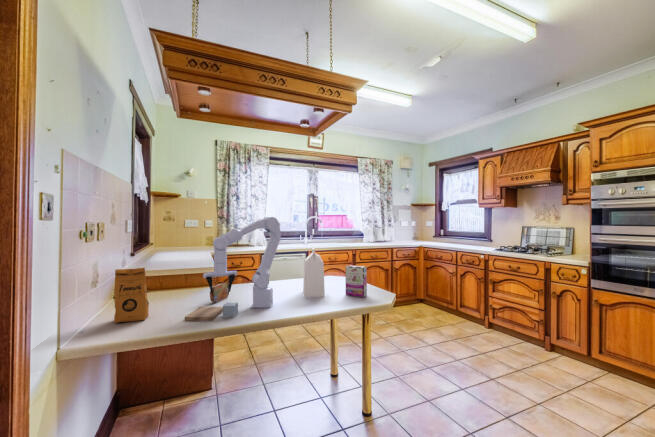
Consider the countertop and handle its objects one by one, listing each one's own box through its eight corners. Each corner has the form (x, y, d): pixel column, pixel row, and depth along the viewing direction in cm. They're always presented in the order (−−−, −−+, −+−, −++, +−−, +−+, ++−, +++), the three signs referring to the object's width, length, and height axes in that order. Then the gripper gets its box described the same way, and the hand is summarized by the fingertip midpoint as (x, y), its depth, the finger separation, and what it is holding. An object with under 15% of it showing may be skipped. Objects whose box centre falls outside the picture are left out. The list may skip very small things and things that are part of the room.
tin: (214, 304, 145) (214, 287, 145) (208, 304, 145) (208, 287, 145) (230, 296, 159) (230, 281, 159) (224, 296, 160) (224, 281, 160)
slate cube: (237, 313, 131) (237, 302, 131) (234, 317, 126) (234, 305, 126) (226, 313, 131) (226, 302, 131) (222, 317, 126) (222, 305, 126)
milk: (303, 291, 169) (303, 247, 169) (322, 291, 170) (322, 247, 170) (303, 297, 157) (303, 249, 157) (324, 296, 158) (324, 249, 158)
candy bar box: (367, 295, 160) (367, 266, 160) (363, 297, 156) (363, 267, 156) (349, 293, 165) (348, 264, 165) (345, 295, 161) (345, 265, 161)
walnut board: (225, 310, 135) (225, 306, 135) (212, 320, 121) (212, 317, 121) (199, 310, 135) (199, 306, 135) (184, 320, 121) (184, 317, 121)
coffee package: (146, 321, 120) (146, 269, 120) (110, 325, 116) (110, 271, 116) (151, 314, 129) (151, 265, 129) (118, 317, 125) (118, 267, 125)
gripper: (235, 260, 140) (235, 288, 140) (202, 262, 134) (203, 292, 134) (237, 262, 134) (237, 291, 134) (203, 264, 127) (203, 295, 127)
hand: (220, 292), depth 133 cm, fingers open, 7 cm apart
